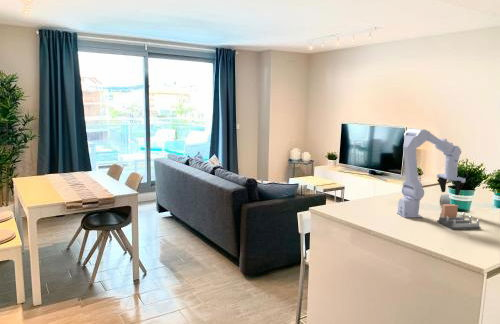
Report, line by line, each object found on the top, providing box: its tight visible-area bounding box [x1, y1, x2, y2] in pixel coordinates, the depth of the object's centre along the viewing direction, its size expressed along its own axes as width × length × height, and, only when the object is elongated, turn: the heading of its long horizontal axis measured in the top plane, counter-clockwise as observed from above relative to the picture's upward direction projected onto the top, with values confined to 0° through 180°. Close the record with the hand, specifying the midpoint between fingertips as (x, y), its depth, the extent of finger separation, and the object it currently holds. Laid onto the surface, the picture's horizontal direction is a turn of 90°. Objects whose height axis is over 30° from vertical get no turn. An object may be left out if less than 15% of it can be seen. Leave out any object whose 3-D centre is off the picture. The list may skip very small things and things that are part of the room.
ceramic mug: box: [439, 193, 450, 209], centre depth 208 cm, size 11×8×8 cm
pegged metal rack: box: [436, 212, 481, 231], centre depth 178 cm, size 14×11×4 cm
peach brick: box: [440, 204, 459, 217], centre depth 189 cm, size 7×2×7 cm, turn 99°
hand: (450, 193), depth 199 cm, fingers open, 7 cm apart
